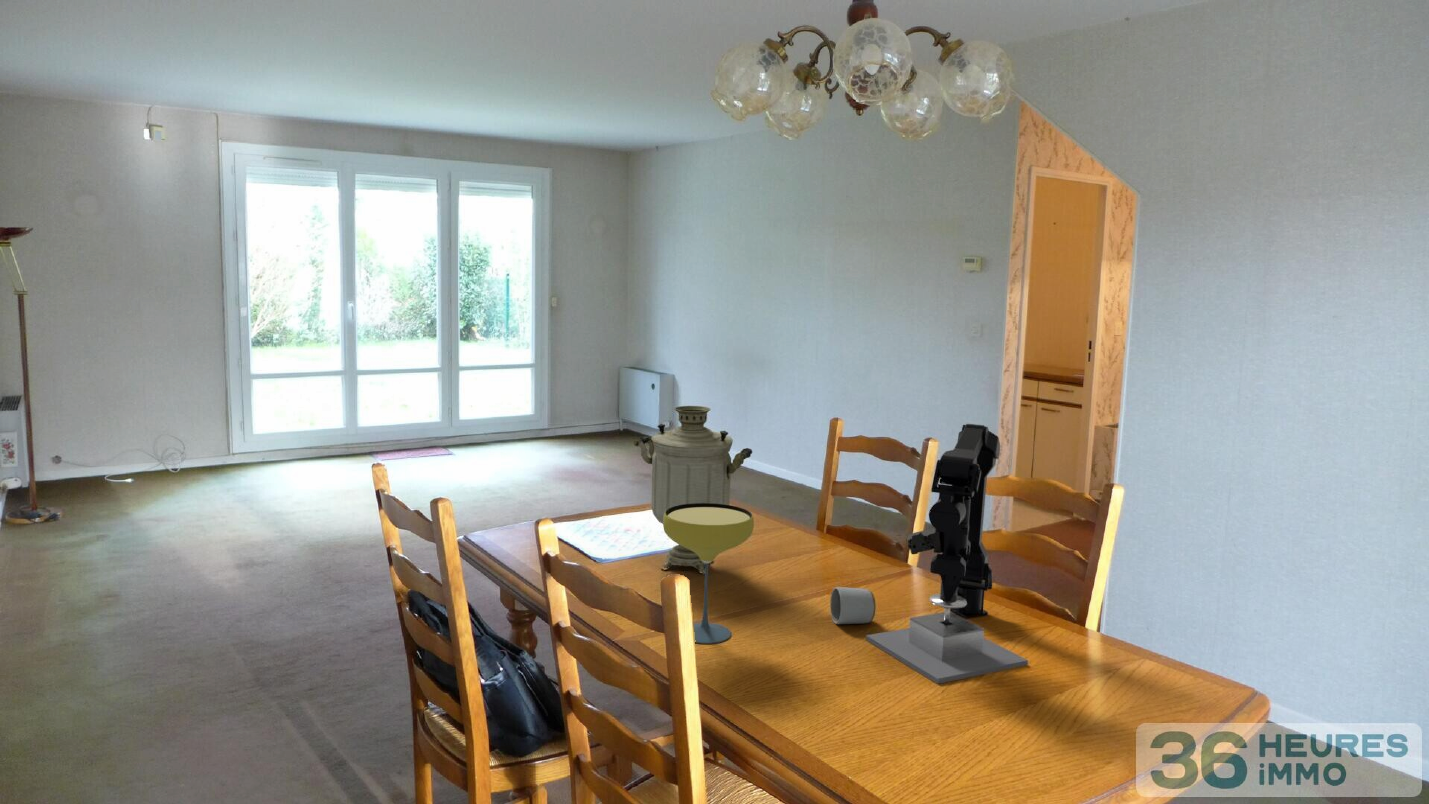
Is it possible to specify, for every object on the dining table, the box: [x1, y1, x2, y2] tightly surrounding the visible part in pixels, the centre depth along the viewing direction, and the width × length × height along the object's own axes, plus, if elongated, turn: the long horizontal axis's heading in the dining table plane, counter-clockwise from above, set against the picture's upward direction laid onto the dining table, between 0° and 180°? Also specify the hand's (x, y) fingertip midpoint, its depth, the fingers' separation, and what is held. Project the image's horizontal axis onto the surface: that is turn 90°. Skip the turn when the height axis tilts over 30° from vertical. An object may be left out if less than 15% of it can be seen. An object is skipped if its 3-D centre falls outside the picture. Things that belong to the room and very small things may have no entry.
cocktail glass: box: [662, 503, 755, 645], centre depth 185 cm, size 18×18×25 cm
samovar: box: [633, 405, 753, 573], centre depth 230 cm, size 30×26×40 cm
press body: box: [908, 611, 985, 661], centre depth 181 cm, size 10×10×5 cm
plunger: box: [929, 581, 967, 626], centre depth 180 cm, size 7×7×8 cm
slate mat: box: [865, 627, 1029, 685], centre depth 181 cm, size 22×22×1 cm
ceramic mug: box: [829, 586, 877, 625], centre depth 197 cm, size 11×8×8 cm
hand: (948, 597), depth 180 cm, fingers closed on plunger, 3 cm apart
